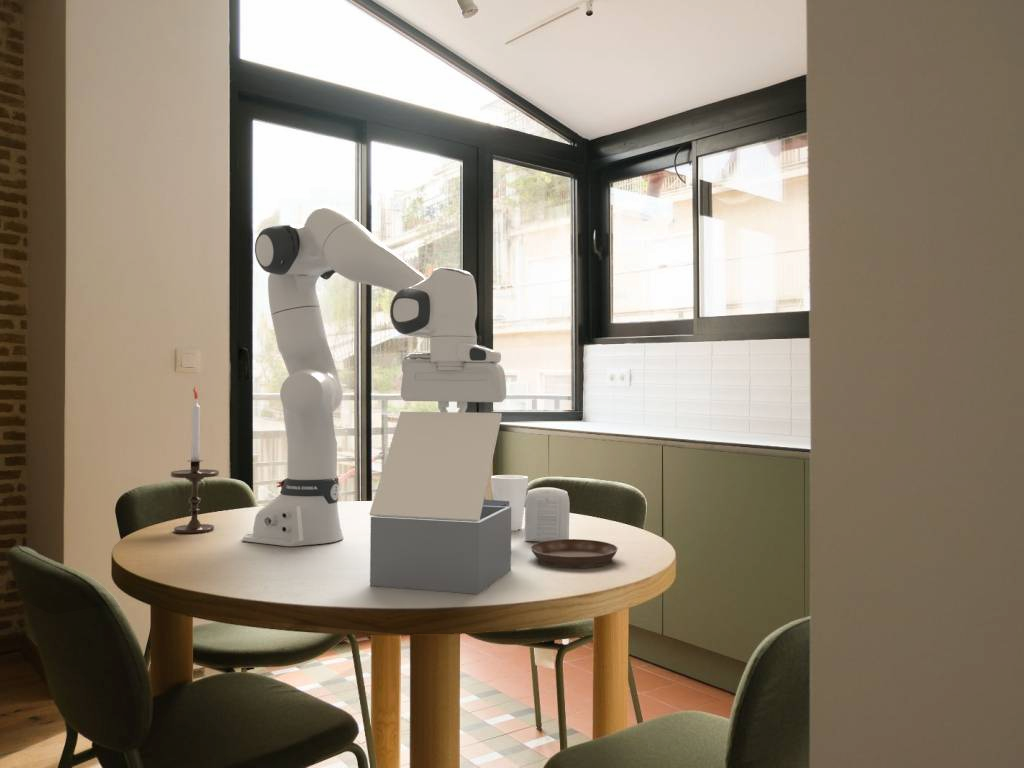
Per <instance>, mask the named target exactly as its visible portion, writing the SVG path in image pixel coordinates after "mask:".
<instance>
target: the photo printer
mask: <svg viewBox="0 0 1024 768" xmlns="http://www.w3.org/2000/svg"><path fill="white" fill-rule="evenodd" d="M570 508H571V507H570V496H569V495H568V491H566V490H565V489H560V488H556V487H549V486H548V487H547V486H545V487H543V486H542V487H536V488H532V489H529V490H527V493H526V499H525V506H524V512H525V513H524V541H525V542H536V543H539V542H543V541H550V540H561V539H570Z"/></svg>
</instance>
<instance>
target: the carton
mask: <svg viewBox="0 0 1024 768" xmlns="http://www.w3.org/2000/svg"><path fill="white" fill-rule="evenodd" d="M369 542H370V548H369V549H370V551H369V553H370V558H369V560H370V562H369V563H370V565H369V572H370V573H369V586H371V587H382V588H395V589H405V590H406V589H408V590H409V589H410V590H421V591H431V592H432V591H433V592H434V591H435V592H448V593H457V594H458V593H460V594H472V595H473V594H474V595H479V594H481V593H482V592H484V591H485V590H486V589H487V588H489V587H490V586H491V585H493V584H494V583H495V582H497V581H498V580H499V579H500V578H502V577H503V576H504V575H505V574H507V573H508V572H509V571H510V570H512V569H511V567H512V565H511V564H512V531H511V507H503V506H483V507H482V511H481V516H480V521H463V520H443V519H424V518H405V517H386V516H370V541H369Z"/></svg>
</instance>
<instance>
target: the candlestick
mask: <svg viewBox="0 0 1024 768" xmlns="http://www.w3.org/2000/svg"><path fill="white" fill-rule="evenodd" d="M192 391H193V393H194V394H193V395H194V396H193V397H194V402H193V405H191V428H190V429H191V430H190V431H191V439H190V441H191V443H190V444H191V445H190V446H191V447H190V450H191V451H190V460H187V462H189V463H190V469H180V470H172V471H170V477H171V478H174V479H175V478H176V479H185V480H187V481H188V482H189V483H191V497H189V498H188V503H189V504H190V505H191V506H190V509H189V510H188V512H191V516H190V517H191V518H190V520H189V522H188V524H183V525H178V526H175V527H174V528H173V532H174V533H175V534H181V535H198V533H200V534H206V533H205V532H207V533H211V532H214V531H213V530H215V525H214V524H209V523H207V524H205V523H201V521H200V520H199V519H198V512H200V511H201V509H200V508H199V504H200V503H201V500H202V499H201V497H199V494H198V491H199V490H198V489H199V487H198V486H199V482H202V480H204V479H205V478H212V477H213V478H214V477H218V476H219V475H220V472H219V471H220V470H217V469H208V468H207V469H205V468H203V469H200V466H201V465H200V464H201V462H204V460H203V459H202V460H201V459H200V443H201V442H200V432H201V430H200V429H201V427H200V426H201V424H200V423H201V406H200V405H199V402H198V396H199V395H198V392H197V391H196V387H193V389H192ZM210 531H211V532H210Z"/></svg>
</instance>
